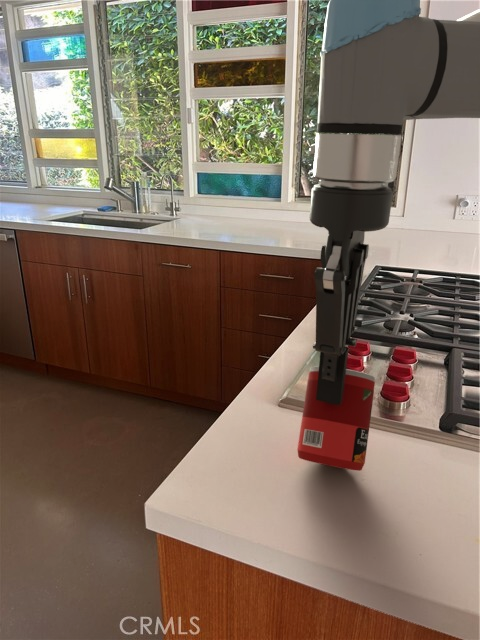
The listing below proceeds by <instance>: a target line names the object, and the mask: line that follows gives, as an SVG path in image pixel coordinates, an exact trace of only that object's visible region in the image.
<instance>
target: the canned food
mask: <svg viewBox="0 0 480 640" xmlns="http://www.w3.org/2000/svg"><path fill="white" fill-rule="evenodd" d="M318 372H319V365H316V366H311V367H310V369H309V372H308V378H307V382H306V390H305V396H304V403H303V404H304V405H303V410H302V417H301V422H300V429H299V435H298V441H297V442H298V444H297V449H296V450H297V457H298V458H299V459H300V460H304V461H307V462H312V463H315V464H321V465H323V466H328V467H329V466H330V467H334V468H338V469H345V470H350V471H359V472H360V471H362V470H363V468H364V467H365V466H364V465H365V463H366V457H367V449H368V443H369V442H368V440H369V434H370V427H371V426H370V425H371V417H372V410H373V402H374V395H375V386H376V385H375V384H376V383H375V382H376V381H375V380H376V377H375V376H373V375H372V374H369V373H366V372H362V371H358V370H354V369H348V368H346V375H345V383H344V391H343V400H342V402H341V404H340V406H338V405H334V404H330V403H326V402H322V401H318V400H316V394H317V383H318Z"/></svg>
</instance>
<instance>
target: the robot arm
mask: <svg viewBox="0 0 480 640" xmlns="http://www.w3.org/2000/svg"><path fill="white" fill-rule="evenodd" d="M421 12H422V8H421V0H328V3H327V7H326V13H325V20H324V29H323V36H322V37H323V38H322V43H321V49H320V52H319V56H320V71H319V72H320V75H319V88H318V89H319V91H318V92H319V93H318V107H317V108H318V109H317V123H316V136H315V143H314V144H311V146H310V147H309V153H310V155H311V156H314V161H313V172H312V173H313V174H312V175H313V177H314V179H316V180H318V183H315V184H314V185H313V187H312V188H311V192H310V207H309V221H310V223H311V224H312V225H314V226H316V227H317V228H324V229H325V230H326V231H327V232H328V233H327V234H328V235H327V238H326V244H323V245H322V246H321V250H320V258H319V261H320V264H321V267H316V269H315V271H314V273H313V276H314V283H315V291H316V292H315V293H316V294H315V341H314V343H313V345H312V349H314V350H315V351H316V352H319V362H318V363H319V364H318V366H319V372H318V383H317V394H316V400H318V401H322V402H326V403H330V404H334V405H338V406H340V404H341V402H342V400H343V391H344V383H345V375H346V369H347V365H348V358H349V350H350V349H349V347H353V348H355V347H356V346H357V343H358V339H357V338H353V337H351V336H352V335H353V334H354V333H355V330H356V320H357V313H358V306H359V301H360V295H361V289H362V282H363V277H364V270H365V264H366V260H367V259H368V255H369V250H370V248H369V247H370V245H369V243H364V242H365V233H366V232H368V233H369V232H376V231H381V230H383V229H385V228H387V227H388V225H389V223H390V217H391V209H392V203H393V197H394V196H393V195H394V191H392V188H391V187H389V183H392V182H394V181H395V180H396V178H397V172H398V171H397V170H398V165H399V159H400V152H401V151H400V149H401V143H402V137H403V136H402V132H403V123H404V121H412V120H434V119H437V120H439V119H440V120H441V119H480V8H479V9H477V10H475V11H473V12H471V13H469V14H466V15H465V16H463V17H461V18H458V19H457V20H450V19H436V18H430V17H427V16H426V17H425V16H420V15H421V14H422V13H421ZM346 346H349V347H346Z"/></svg>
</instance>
